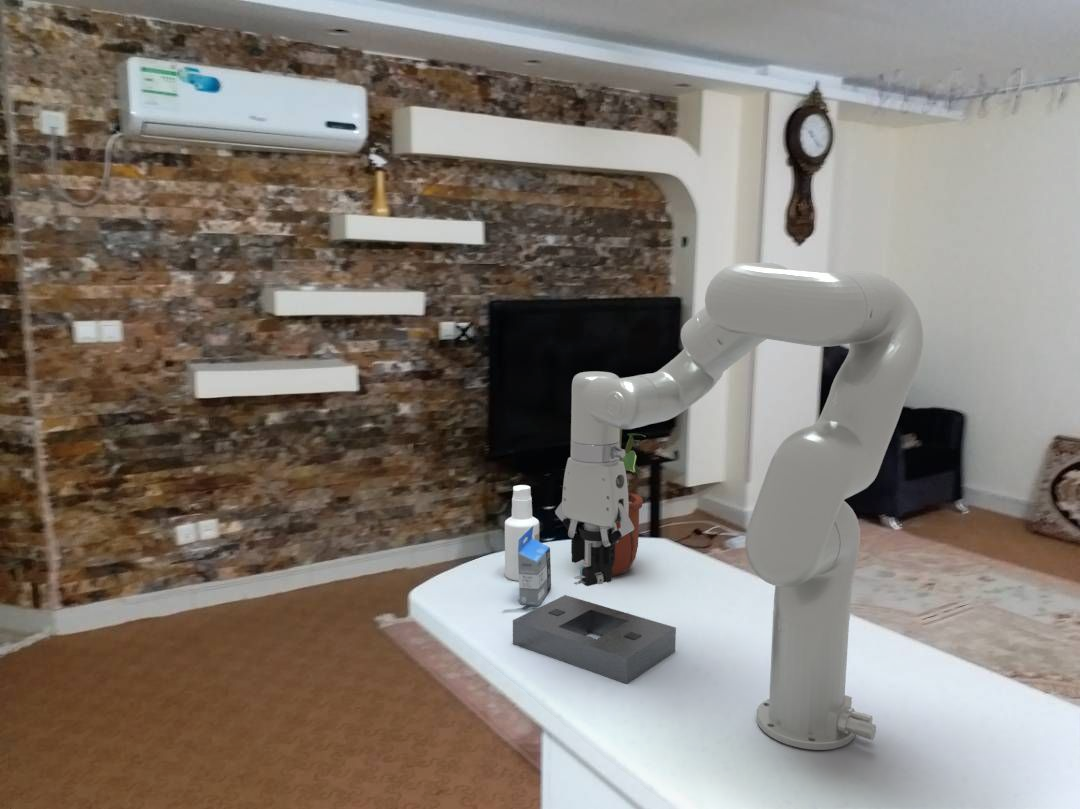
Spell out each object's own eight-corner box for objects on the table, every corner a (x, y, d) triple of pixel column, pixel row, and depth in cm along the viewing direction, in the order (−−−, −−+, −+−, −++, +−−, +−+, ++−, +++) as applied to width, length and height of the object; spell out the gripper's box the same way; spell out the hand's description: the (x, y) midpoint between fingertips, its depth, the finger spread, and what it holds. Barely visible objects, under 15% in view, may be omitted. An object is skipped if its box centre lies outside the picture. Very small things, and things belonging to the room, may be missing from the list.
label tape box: (539, 606, 157) (539, 541, 155) (517, 604, 158) (517, 539, 156) (551, 589, 165) (551, 527, 163) (531, 587, 166) (531, 525, 164)
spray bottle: (546, 575, 173) (546, 486, 170) (522, 584, 168) (522, 493, 165) (521, 567, 177) (521, 481, 174) (497, 575, 172) (497, 487, 170)
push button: (584, 592, 135) (584, 529, 133) (565, 581, 139) (565, 521, 138) (618, 584, 138) (619, 523, 137) (599, 574, 143) (599, 515, 141)
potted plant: (562, 569, 176) (563, 398, 170) (614, 552, 186) (616, 390, 181) (627, 593, 163) (630, 408, 158) (679, 573, 174) (684, 399, 168)
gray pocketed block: (675, 651, 139) (675, 626, 138) (626, 683, 128) (627, 657, 127) (565, 616, 152) (565, 594, 152) (512, 643, 142) (512, 619, 141)
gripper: (654, 455, 133) (650, 570, 136) (566, 440, 143) (564, 547, 146) (627, 464, 127) (624, 583, 130) (537, 447, 137) (536, 558, 140)
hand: (592, 563), depth 138 cm, fingers closed on push button, 4 cm apart
